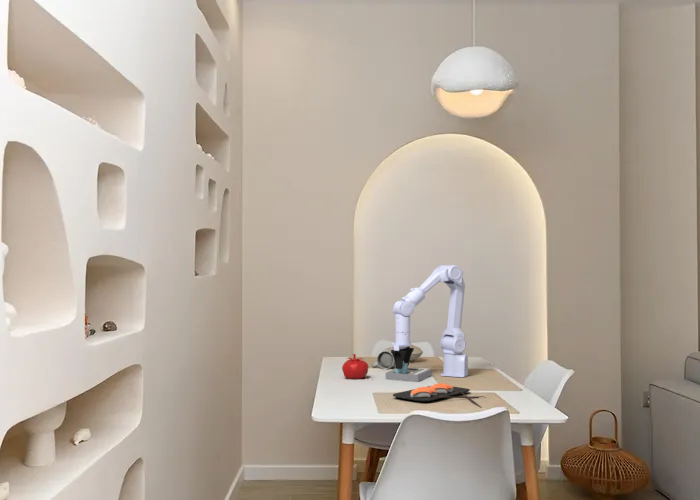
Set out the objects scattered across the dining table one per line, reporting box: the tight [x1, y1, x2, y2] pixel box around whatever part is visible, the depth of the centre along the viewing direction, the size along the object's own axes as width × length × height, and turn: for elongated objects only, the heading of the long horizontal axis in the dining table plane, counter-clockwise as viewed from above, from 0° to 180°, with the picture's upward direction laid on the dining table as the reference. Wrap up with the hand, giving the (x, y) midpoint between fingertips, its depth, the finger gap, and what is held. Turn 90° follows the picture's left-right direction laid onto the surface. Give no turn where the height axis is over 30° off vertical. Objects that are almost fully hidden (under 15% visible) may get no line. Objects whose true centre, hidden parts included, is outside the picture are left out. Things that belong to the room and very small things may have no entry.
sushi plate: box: [392, 382, 485, 409], centre depth 240 cm, size 29×30×4 cm
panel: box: [385, 367, 432, 383], centre depth 285 cm, size 13×17×3 cm
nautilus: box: [384, 344, 424, 363], centre depth 332 cm, size 8×22×15 cm
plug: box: [395, 361, 409, 374], centre depth 281 cm, size 4×4×7 cm
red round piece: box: [341, 353, 369, 380], centre depth 282 cm, size 10×10×9 cm
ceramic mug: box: [371, 349, 396, 370], centre depth 311 cm, size 11×8×8 cm
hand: (402, 367), depth 281 cm, fingers open, 7 cm apart
